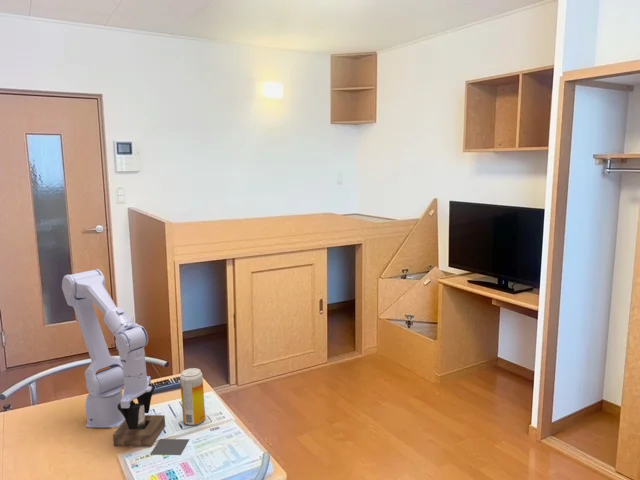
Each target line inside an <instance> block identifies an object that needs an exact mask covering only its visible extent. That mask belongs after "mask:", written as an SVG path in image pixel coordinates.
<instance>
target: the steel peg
mask: <svg viewBox="0 0 640 480" xmlns="http://www.w3.org/2000/svg"><path fill="white" fill-rule="evenodd" d="M145 415H146V413H145V411H144V404H143V403H141V406H140V409H139V413H138V426H137V428H134V429H145V428H146V423H145Z"/></svg>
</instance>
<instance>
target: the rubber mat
mask: <svg viewBox="0 0 640 480" xmlns="http://www.w3.org/2000/svg"><path fill="white" fill-rule="evenodd" d="M189 441H190V438H187V439H186V438H160V439H159V440H158V441H157V444H156V445H155V446H154V448H153V449H152V450H151V452H150V453H149V456H150V455H151V456H161V455H162V456H182V454H183V452H184V450H185V449H186V447H187V444H188V443H189Z"/></svg>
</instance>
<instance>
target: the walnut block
mask: <svg viewBox="0 0 640 480" xmlns="http://www.w3.org/2000/svg"><path fill="white" fill-rule="evenodd" d="M165 417H166V416H165V415H158V414H150V415H149V414H148V415H147V414H145V423H146V428H145V429H134V428H129V427H128V425H127V422H126V420H125V421H124V422H123V423H122V424H121V425H120V427H118V428H116V430H115V432H114V433H113V434H112V440H113V446H114V447H137V448H138V447H140V448H141V447H142V448H143V447H144V448H145V447H147V448H149V447H150V448H151V447H152V446H153V445H154V444H155V442H156V440H157V439H158V438H159V436H160V435H161V433H162V432H163V431H164V429H165V427H166V420H165V419H166V418H165Z"/></svg>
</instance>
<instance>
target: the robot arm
mask: <svg viewBox="0 0 640 480" xmlns="http://www.w3.org/2000/svg"><path fill="white" fill-rule="evenodd" d="M61 290H62V292H63V293H62V294H63V296H64V298H65V301H66V303H67V305H68V306H70V307H72V308H73V309H74V314H75V316H76V319H77V322H78V325H79V328H80V331H81V333H82V337H83V340H84V343H85V346H86V348H87V349H86V350H87V352H88V355H89V357H90V360H91V362H90V363H89V365H88V367H87V368H86V370H85V371H84V377H85V386H86V389H87V391H88V395H87V397H86V400H85V411H86V412H85V413H86V420H87V424H86V425H85V426H86V428H95V429H96V428H100V429H103V428H106V429H107V428H109V429H110V428H111V429H112V428H116V429H118V428H119V427H120V426H121V425H122V423H123V422H124V421H125V420H126V422H127V425H128V427H129V428H137V426H138V413H139V409H140V406H141V403H143V404H144V411H145V414H148V413H150V407H151V401H152V396H153V394H154V391H155V389H156V385H155V384H151V383H152V379H151V378H152V377H151V376H150V375H149V376H148V374H147V366H146V353H145V347H146V346H147V345H148V343H149V336H148V333H147V331H146V329H145V327H144V326H142V325H139V324H138V323H136V322H134V321H133V320H132V318H131V317H130V316H129V315H128V313H127V312H126V310H124V308H123V307H120V306H119V307H117V306H116V303H115V302H114V300H113V299H112V297H111V295H110V294H109V291H108V290H107V288H106V278H105V275H104V274H103V272H102V271H101V269H99V268H95V269H92V270H88V271H87V270H86V271H81V272H77V273H73V274H66V275H64V276H63V278H62V280H61ZM94 305H95V306H96V307H97V308H98V309H99V311H101V313H102V314H103V315H104V317H103V322H104V323H105V325H106V326H107V328H108V329H109V331H110V332H111V333H112V335H113V336H114V337H115V341H114V342H115V345H116V349H117V350H118V357H119V358H118V357H116V356H115V357H114V356H112V355H111V354H110V351H109V348H108V344H107V342H106V340H105V336H104V333H103V331H102V328H101V324H100V322H99V318H98V316H97V313H96V310H95V308H94ZM135 399H137V403H136V401H134V400H135Z"/></svg>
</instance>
